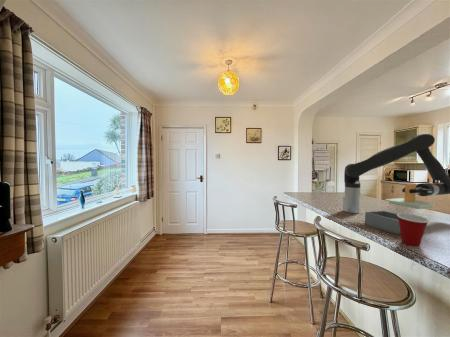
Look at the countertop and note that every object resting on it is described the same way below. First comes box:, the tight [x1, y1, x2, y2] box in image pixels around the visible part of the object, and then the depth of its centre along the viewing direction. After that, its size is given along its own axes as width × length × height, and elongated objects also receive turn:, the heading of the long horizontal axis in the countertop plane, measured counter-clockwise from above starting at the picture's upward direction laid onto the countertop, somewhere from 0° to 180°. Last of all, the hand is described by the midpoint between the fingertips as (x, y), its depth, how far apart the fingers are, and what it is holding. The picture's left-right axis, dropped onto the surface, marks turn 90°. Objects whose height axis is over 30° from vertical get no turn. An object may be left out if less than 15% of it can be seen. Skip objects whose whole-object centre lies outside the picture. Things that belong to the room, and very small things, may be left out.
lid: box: [384, 183, 438, 210], centre depth 125 cm, size 18×14×12 cm
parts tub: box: [364, 210, 401, 236], centre depth 115 cm, size 18×14×7 cm
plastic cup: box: [397, 213, 430, 247], centre depth 94 cm, size 11×11×12 cm
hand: (406, 190), depth 124 cm, fingers closed on lid, 3 cm apart
